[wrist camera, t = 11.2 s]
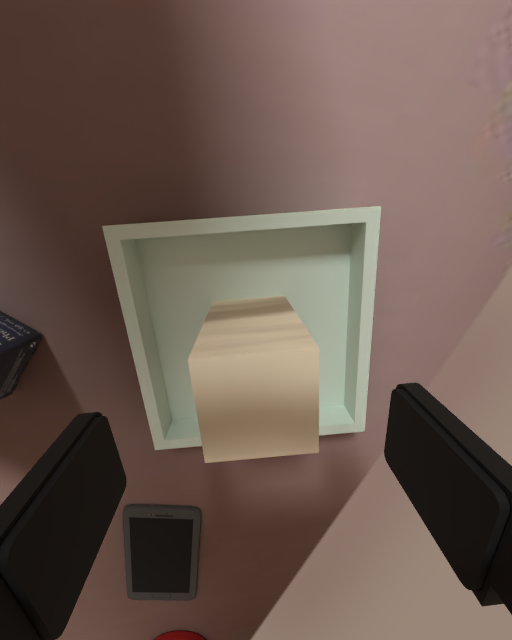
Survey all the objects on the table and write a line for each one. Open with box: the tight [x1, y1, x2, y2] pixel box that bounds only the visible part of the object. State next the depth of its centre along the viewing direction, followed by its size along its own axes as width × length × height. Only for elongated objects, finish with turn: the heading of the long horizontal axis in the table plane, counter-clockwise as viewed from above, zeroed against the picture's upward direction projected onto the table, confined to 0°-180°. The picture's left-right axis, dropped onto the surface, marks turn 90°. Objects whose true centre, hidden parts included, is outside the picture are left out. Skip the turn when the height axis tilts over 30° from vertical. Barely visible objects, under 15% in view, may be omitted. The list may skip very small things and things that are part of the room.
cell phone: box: [123, 504, 201, 600], centre depth 28 cm, size 7×14×1 cm, turn 174°
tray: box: [102, 206, 381, 450], centre depth 19 cm, size 16×16×3 cm
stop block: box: [188, 295, 319, 463], centre depth 15 cm, size 5×5×9 cm
